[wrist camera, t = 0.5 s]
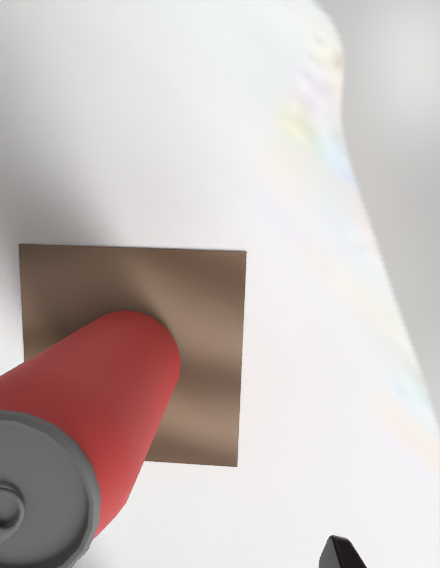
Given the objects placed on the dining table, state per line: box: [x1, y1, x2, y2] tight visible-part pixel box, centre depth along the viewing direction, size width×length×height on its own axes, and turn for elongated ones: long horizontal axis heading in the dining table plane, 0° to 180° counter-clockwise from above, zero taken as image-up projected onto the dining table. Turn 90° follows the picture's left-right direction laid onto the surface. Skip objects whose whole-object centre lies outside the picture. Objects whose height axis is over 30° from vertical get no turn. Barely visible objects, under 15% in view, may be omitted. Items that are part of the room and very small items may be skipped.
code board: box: [19, 244, 247, 467], centre depth 22 cm, size 14×14×1 cm
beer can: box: [0, 310, 181, 568], centre depth 16 cm, size 7×7×12 cm
